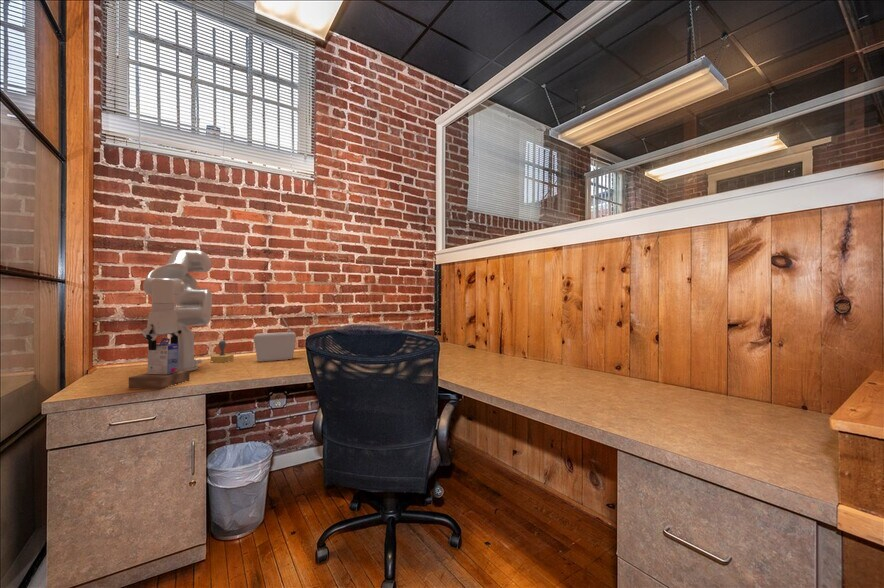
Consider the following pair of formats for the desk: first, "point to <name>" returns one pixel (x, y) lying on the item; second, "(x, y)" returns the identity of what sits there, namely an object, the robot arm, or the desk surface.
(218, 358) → the rubber stamp
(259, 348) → the rounded grey case
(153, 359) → the ink cartridge box
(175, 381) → the walnut box
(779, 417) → the desk surface
